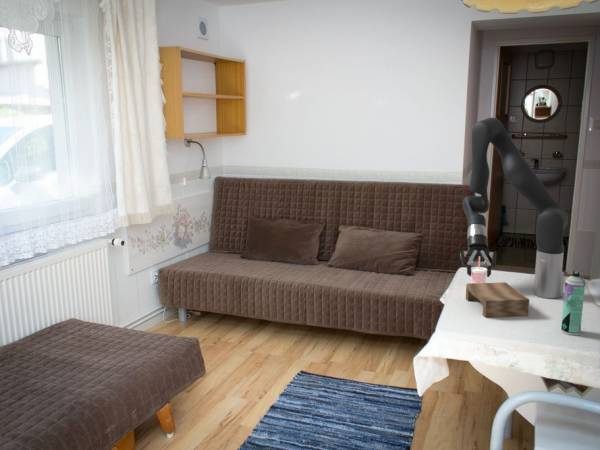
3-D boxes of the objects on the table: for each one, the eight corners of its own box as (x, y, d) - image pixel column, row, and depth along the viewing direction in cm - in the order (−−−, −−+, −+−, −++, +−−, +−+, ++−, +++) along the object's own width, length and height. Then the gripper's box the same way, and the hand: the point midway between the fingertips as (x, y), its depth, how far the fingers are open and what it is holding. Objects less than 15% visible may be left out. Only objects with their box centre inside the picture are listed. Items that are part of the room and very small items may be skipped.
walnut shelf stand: (504, 297, 208) (505, 282, 207) (528, 316, 190) (529, 299, 188) (465, 298, 207) (466, 283, 206) (485, 317, 189) (486, 300, 188)
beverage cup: (488, 293, 211) (490, 258, 208) (472, 293, 211) (473, 258, 208) (483, 288, 217) (485, 254, 214) (467, 288, 217) (469, 254, 214)
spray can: (576, 328, 178) (581, 269, 174) (582, 335, 173) (589, 274, 169) (558, 328, 179) (563, 269, 175) (564, 335, 173) (570, 274, 169)
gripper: (459, 232, 218) (460, 270, 209) (497, 233, 215) (500, 271, 206) (457, 242, 224) (458, 279, 216) (495, 243, 222) (497, 281, 213)
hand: (479, 275), depth 211 cm, fingers closed on beverage cup, 6 cm apart
